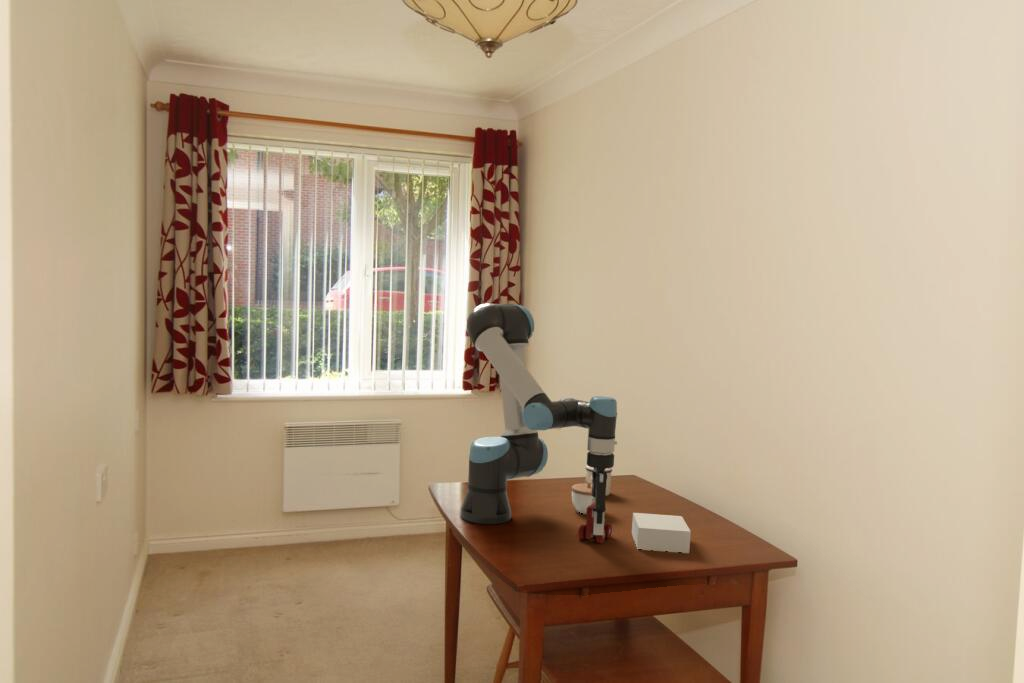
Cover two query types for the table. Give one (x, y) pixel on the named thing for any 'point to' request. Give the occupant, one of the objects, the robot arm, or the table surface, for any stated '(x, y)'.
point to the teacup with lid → (589, 477)
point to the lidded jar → (582, 496)
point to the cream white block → (660, 532)
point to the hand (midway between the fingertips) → (596, 527)
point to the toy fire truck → (588, 528)
